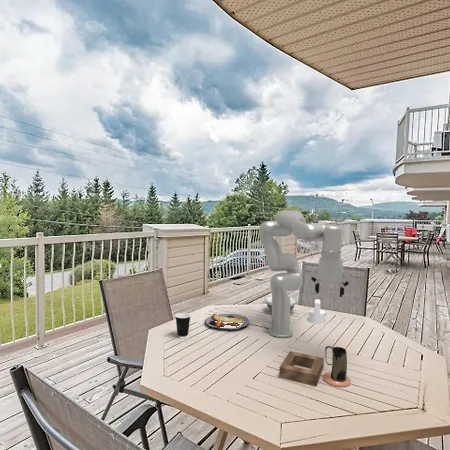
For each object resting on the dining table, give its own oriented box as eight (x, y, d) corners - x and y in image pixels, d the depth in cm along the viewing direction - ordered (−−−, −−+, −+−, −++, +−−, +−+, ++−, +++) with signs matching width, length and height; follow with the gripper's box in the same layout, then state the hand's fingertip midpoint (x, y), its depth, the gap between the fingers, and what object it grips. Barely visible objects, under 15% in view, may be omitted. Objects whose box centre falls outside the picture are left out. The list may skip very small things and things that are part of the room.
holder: (279, 377, 123) (279, 367, 123) (289, 360, 137) (289, 351, 137) (316, 386, 117) (316, 375, 116) (323, 367, 131) (323, 357, 131)
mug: (344, 374, 124) (345, 344, 123) (348, 382, 118) (349, 350, 118) (323, 373, 125) (324, 343, 124) (326, 381, 119) (327, 349, 119)
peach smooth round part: (320, 383, 119) (320, 381, 119) (324, 371, 128) (324, 369, 128) (349, 389, 115) (349, 388, 115) (351, 377, 124) (351, 375, 124)
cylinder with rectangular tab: (325, 325, 181) (325, 304, 181) (308, 323, 184) (309, 302, 183) (325, 320, 190) (325, 300, 189) (309, 318, 192) (309, 298, 192)
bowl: (277, 318, 191) (277, 305, 190) (259, 310, 207) (260, 297, 207) (301, 314, 199) (301, 301, 199) (283, 306, 216) (283, 294, 216)
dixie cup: (190, 333, 166) (191, 312, 166) (190, 339, 158) (190, 317, 158) (175, 333, 165) (175, 312, 165) (174, 339, 157) (174, 317, 157)
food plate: (198, 328, 174) (198, 322, 173) (212, 315, 196) (213, 310, 196) (243, 334, 166) (243, 327, 166) (253, 320, 188) (253, 314, 188)
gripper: (308, 254, 136) (306, 293, 137) (352, 258, 128) (349, 300, 129) (312, 251, 143) (310, 289, 144) (353, 255, 135) (351, 295, 136)
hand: (329, 294), depth 137 cm, fingers open, 9 cm apart
